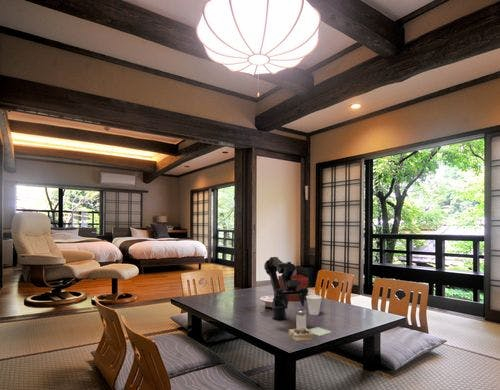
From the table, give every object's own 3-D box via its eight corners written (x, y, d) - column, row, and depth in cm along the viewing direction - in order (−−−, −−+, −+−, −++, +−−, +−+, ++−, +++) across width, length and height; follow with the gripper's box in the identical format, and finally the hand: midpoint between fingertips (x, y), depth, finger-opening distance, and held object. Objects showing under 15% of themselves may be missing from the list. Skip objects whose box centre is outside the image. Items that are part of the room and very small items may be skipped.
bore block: (288, 335, 168) (288, 329, 168) (306, 333, 170) (306, 327, 171) (295, 342, 158) (295, 335, 159) (314, 340, 161) (314, 334, 161)
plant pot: (278, 297, 256) (277, 275, 258) (301, 296, 260) (300, 274, 261) (284, 302, 238) (284, 279, 239) (309, 301, 241) (309, 278, 243)
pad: (305, 331, 174) (305, 330, 174) (317, 328, 180) (317, 327, 180) (319, 336, 166) (319, 335, 166) (332, 332, 172) (332, 331, 172)
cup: (319, 312, 212) (319, 295, 213) (323, 316, 202) (323, 298, 203) (304, 312, 212) (304, 295, 213) (308, 316, 202) (307, 298, 203)
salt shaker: (293, 337, 164) (293, 310, 165) (299, 334, 168) (298, 308, 170) (303, 339, 160) (303, 312, 162) (309, 336, 165) (308, 310, 166)
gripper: (275, 274, 178) (282, 299, 166) (307, 273, 182) (315, 297, 170) (271, 286, 185) (277, 311, 173) (301, 284, 189) (309, 308, 177)
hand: (295, 306), depth 173 cm, fingers open, 9 cm apart
